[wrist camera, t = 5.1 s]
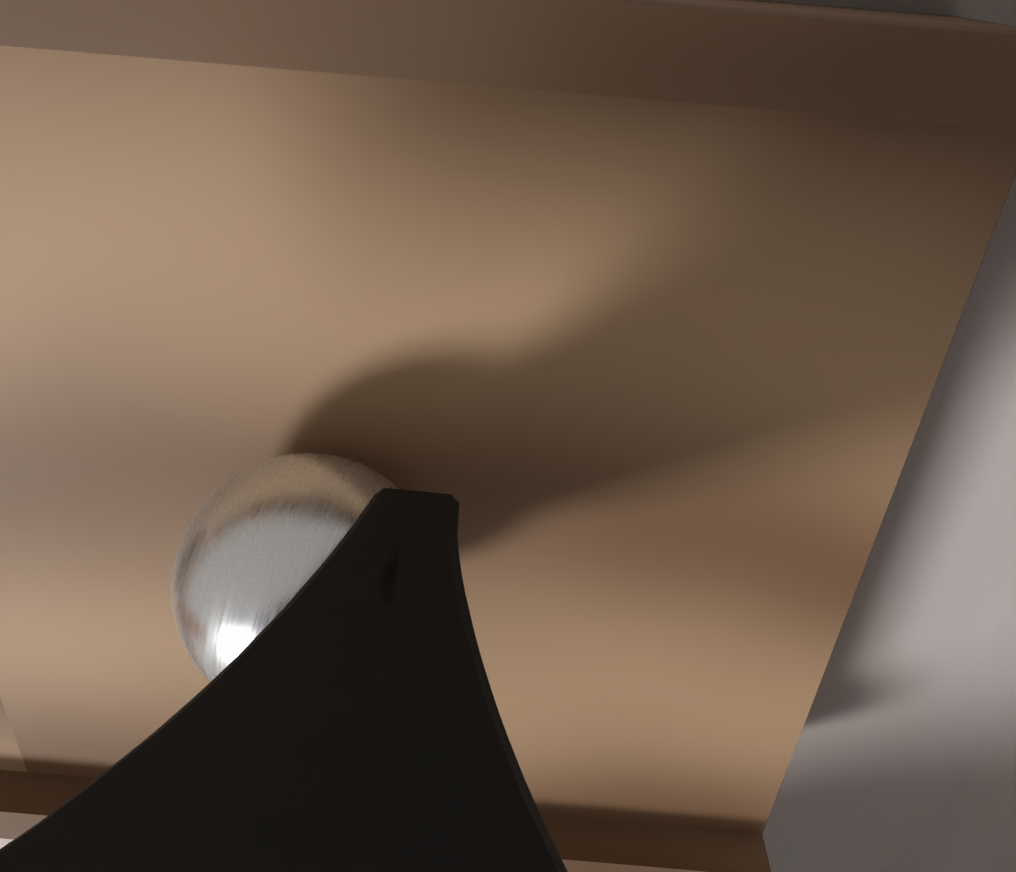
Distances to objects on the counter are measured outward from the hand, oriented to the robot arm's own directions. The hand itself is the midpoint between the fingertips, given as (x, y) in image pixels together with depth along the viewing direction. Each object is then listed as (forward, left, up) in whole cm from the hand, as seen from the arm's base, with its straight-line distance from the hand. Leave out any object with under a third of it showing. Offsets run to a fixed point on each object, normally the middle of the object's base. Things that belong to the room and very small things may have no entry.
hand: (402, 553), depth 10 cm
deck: (-1, +4, -4) cm, 6 cm away
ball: (0, +1, 0) cm, 1 cm away
